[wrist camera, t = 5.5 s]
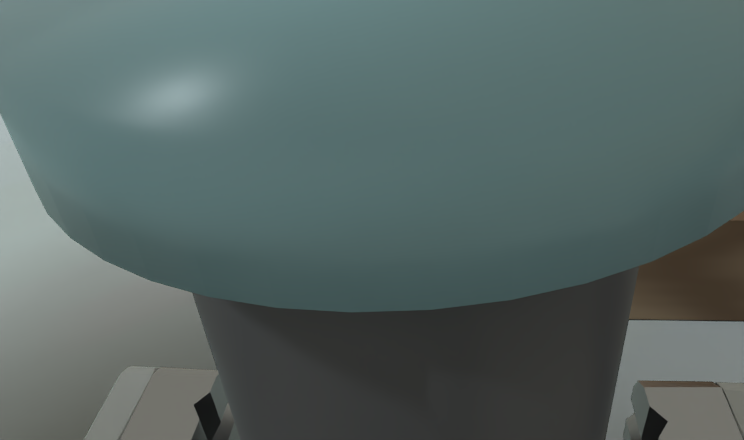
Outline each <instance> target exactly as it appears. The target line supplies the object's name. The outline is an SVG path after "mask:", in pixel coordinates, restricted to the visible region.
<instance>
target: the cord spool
mask: <svg viewBox="0 0 744 440" xmlns="http://www.w3.org/2000/svg"><path fill="white" fill-rule="evenodd" d="M0 114H1V116H2V118H3V120H4V123H5V125H6V127H7V129H8V131H9V134H10V136H11V138H12V140H13V142H14V144H15V147H16V149H17V151H18V153H19V155H20V158H21V160H22V162H23V164H24V166H25V168H26V171H27V173H28V175H29V177H30V179H31V182H32V184H33V186H34V188H35V190H36V192H37V194H38V196H39V198H40V200H41V202H42V204H43V206H44V208H45V210H46V212H47V214H48V215H49V216H50V217H51V218H52V219H53V220H54V221H55V222H56V223H57V224H58V225H59V226H60V227H61V228H62V230H63V231H64V232H65V233H66V234H67V235H68V236H69V237H70V238H71V239H73V240H74V241H76V242H77V243H79V244H80V245H82V246H83V247H85V248H86V249H88V250H89V251H91V252H92V253H94V254H95V255H97V256H98V257H100V258H101V259H103V260H105V261H107V262H109V263H111V264H114V265H116V266H118V267H121V268H123V269H125V270H127V271H130V272H132V273H134V274H136V275H139V276H141V277H143V278H146V279H148V280H150V281H154V282H157V283H161V284H164V285H168V286H171V287H175V288H178V289H182V290H185V291H189V292H192V293H193V296H194V300H195V303H196V306H197V309H198V312H199V315H200V318H201V321H202V324H203V327H204V330H205V333H206V336H207V339H208V342H209V345H210V348H211V351H212V355H213V358H214V361H215V364H216V367H217V370H218V373H219V376H220V379H221V382H222V385H223V388H224V391H225V394H226V397H227V400H228V403H229V406H230V410H231V413H232V416H233V419H234V422H235V425H236V428H237V431H238V434H239V437H240V440H605V437H606V432H607V427H608V422H609V417H610V412H611V407H612V402H613V397H614V392H615V386H616V381H617V376H618V371H619V366H620V361H621V356H622V351H623V346H624V341H625V336H626V331H627V326H628V321H629V315H630V310H631V305H632V300H633V295H634V290H635V285H636V280H637V275H638V270H639V266H640V265H643V264H646V263H649V262H652V261H654V260H656V259H658V258H660V257H663V256H665V255H667V254H669V253H671V252H673V251H675V250H677V249H679V248H682V247H684V246H686V245H688V244H690V243H692V242H694V241H696V240H699V239H701V238H703V237H705V236H707V235H708V234H710V233H711V232H713V231H714V230H716V229H717V228H719V227H720V226H722V225H723V224H725V223H726V222H728V221H729V220H731V219H732V218H734V217H735V216H737V215H738V214H740V213H741V212H743V211H744V0H0Z"/></svg>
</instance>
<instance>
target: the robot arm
mask: <svg viewBox="0 0 744 440" xmlns="http://www.w3.org/2000/svg"><path fill="white" fill-rule="evenodd" d="M631 401H632V405H633V409H634V414H633V415H631V416H630V417H629V418H627V419H626V423H625V428H624V434H623V440H744V383H713V382H695V381H637V382H636V384H635V385H634V387H633V391H632V395H631ZM84 440H240V437H239V434H238V431H237V428H236V425H235V422H234V419H233V416H232V413H231V410H230V406H229V403H228V400H227V397H226V394H225V391H224V388H223V385H222V382H221V379H220V376H219V373H218V370H204V369H186V368H168V367H141V366H129V367H128V368H126V369H125V370H124V371H123V372H122V373H121V374H120V375H119V377H118V378H117V380H116V382H115V384H114V386H113V387H112V389H111V391H110V393H109V395H108V396H107V398H106V400H105V402H104V404H103V405H102V407H101V409H100V411H99V413H98V414H97V416H96V418H95V420H94V422H93V423H92V425H91V427H90V429H89V431H88V432H87V434H86V436H85V438H84Z"/></svg>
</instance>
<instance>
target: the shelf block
mask: <svg viewBox="0 0 744 440" xmlns="http://www.w3.org/2000/svg"><path fill="white" fill-rule="evenodd" d="M629 319H659V320H728V321H744V211H743V212H741V213H740V214H738V215H737V216H735V217H734V218H732V219H731V220H729V221H728V222H726V223H725V224H723V225H722V226H720V227H719V228H717V229H716V230H714V231H713V232H711V233H710V234H708V235H707V236H705V237H703V238H701V239H699V240H696V241H694V242H692V243H690V244H688V245H686V246H684V247H682V248H679V249H677V250H675V251H673V252H671V253H669V254H667V255H665V256H663V257H660V258H658V259H656V260H654V261H652V262H649V263H646V264H643V265H640V266H639V270H638V275H637V280H636V285H635V290H634V295H633V300H632V305H631V310H630V315H629Z"/></svg>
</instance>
